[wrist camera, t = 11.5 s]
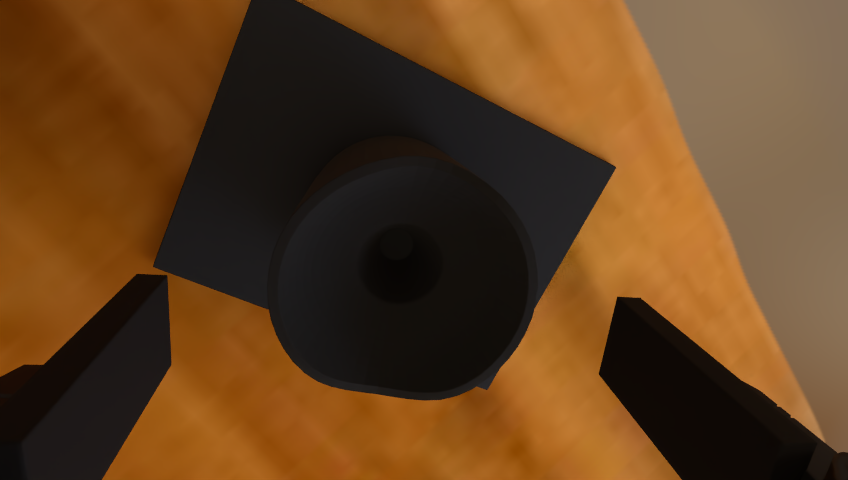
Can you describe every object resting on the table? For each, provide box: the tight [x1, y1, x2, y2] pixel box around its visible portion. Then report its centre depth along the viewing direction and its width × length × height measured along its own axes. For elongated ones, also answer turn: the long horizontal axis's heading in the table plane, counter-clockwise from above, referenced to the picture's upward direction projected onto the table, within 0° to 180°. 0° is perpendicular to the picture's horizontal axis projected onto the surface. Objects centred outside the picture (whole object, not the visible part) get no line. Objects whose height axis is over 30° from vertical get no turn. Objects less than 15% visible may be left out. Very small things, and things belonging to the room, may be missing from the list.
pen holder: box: [267, 136, 538, 400], centre depth 23 cm, size 9×9×10 cm
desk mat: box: [153, 0, 616, 390], centre depth 28 cm, size 20×15×1 cm
